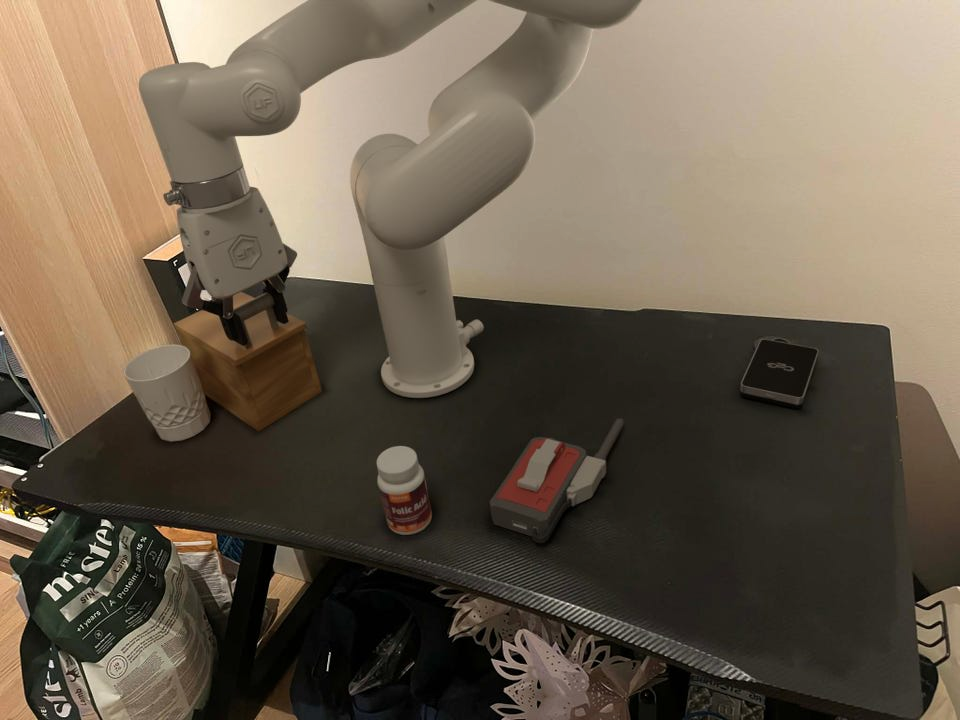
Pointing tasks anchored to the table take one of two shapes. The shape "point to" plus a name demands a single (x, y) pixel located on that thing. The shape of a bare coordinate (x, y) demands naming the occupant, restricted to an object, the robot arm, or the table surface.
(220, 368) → the box
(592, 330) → the table surface
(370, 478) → the table surface
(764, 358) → the external hard drive
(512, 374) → the table surface
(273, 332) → the caddy lid
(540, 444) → the walkie-talkie
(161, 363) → the white cup
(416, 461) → the pill bottle
